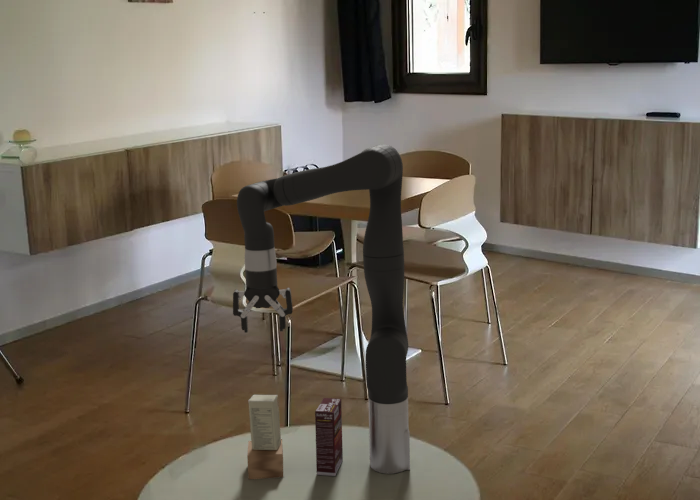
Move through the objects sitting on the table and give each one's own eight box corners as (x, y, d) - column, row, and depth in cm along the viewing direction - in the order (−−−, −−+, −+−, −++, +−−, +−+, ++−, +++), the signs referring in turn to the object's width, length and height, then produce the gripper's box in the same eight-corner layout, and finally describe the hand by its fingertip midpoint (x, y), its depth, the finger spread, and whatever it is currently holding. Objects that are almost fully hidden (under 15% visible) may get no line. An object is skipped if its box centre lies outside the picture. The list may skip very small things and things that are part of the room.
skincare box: (281, 443, 207) (279, 394, 204) (277, 451, 203) (275, 401, 200) (255, 442, 208) (253, 393, 206) (250, 449, 204) (247, 400, 201)
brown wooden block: (283, 462, 211) (282, 439, 209) (283, 477, 203) (282, 453, 201) (249, 464, 210) (248, 441, 209) (248, 480, 202) (247, 456, 201)
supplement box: (336, 476, 202) (334, 412, 199) (316, 475, 203) (313, 411, 200) (344, 460, 210) (342, 398, 207) (324, 458, 211) (322, 397, 208)
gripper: (229, 271, 205) (233, 337, 209) (290, 269, 205) (292, 335, 209) (232, 263, 212) (236, 327, 216) (291, 261, 213) (293, 325, 216)
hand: (264, 331), depth 212 cm, fingers open, 8 cm apart
